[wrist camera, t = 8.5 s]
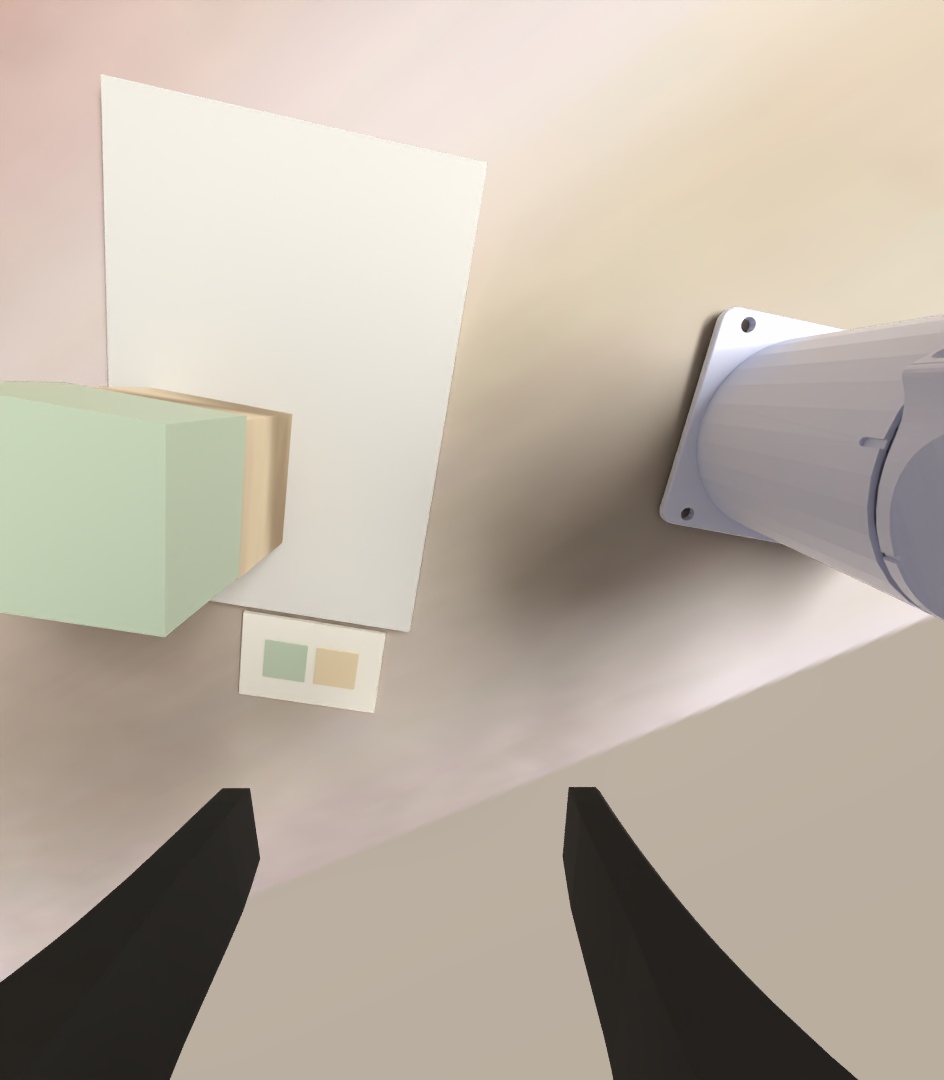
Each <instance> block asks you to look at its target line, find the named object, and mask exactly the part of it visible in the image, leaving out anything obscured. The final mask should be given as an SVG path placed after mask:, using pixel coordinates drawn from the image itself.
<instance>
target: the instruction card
mask: <svg viewBox="0 0 944 1080" xmlns="http://www.w3.org/2000/svg"><path fill="white" fill-rule="evenodd" d="M385 638H386V632H380V631H374V630H367V629H361V628H355V627H348V626H342V625H336V624H329V623H323V622H317V621H310V620H304V619H298V618H291V617H285V616H279V615H272V614H266V613H260V612H253V611H247V610H245V611H244V612H243V628H242V645H241V662H240V680H239V694H245V695H252V696H259V697H266V698H272V699H279V700H286V701H293V702H300V703H307V704H314V705H321V706H327V707H334V708H341V709H348V710H355V711H362V712H369V713H374V710H375V704H376V697H377V691H378V684H379V677H380V671H381V664H382V657H383V651H384V644H385Z"/></svg>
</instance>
